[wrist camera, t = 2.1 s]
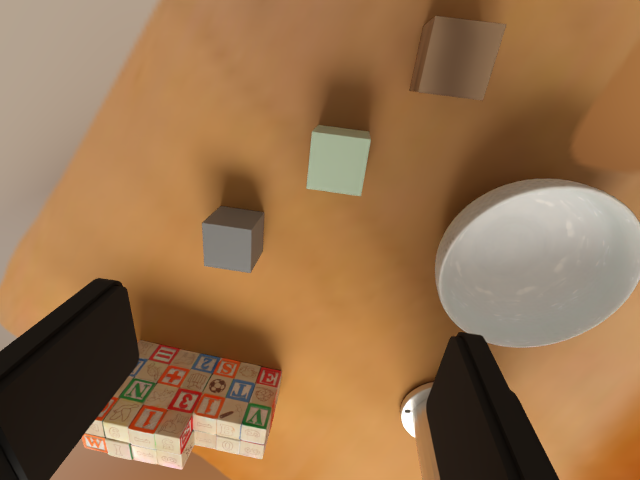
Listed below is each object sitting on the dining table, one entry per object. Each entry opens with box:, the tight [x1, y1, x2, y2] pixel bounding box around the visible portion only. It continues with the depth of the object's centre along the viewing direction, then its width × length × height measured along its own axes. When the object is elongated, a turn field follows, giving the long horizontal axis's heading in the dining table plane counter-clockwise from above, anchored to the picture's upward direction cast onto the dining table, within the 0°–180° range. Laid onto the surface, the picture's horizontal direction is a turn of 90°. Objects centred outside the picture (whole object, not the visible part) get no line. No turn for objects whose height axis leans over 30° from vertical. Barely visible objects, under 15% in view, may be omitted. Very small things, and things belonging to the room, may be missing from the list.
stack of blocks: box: [82, 340, 282, 469], centre depth 43 cm, size 21×6×12 cm, turn 80°
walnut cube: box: [409, 16, 506, 100], centre depth 27 cm, size 5×5×5 cm
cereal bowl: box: [435, 178, 640, 348], centre depth 32 cm, size 17×17×7 cm
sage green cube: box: [306, 125, 371, 196], centre depth 31 cm, size 5×5×5 cm
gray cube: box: [202, 206, 264, 273], centre depth 36 cm, size 5×5×5 cm
